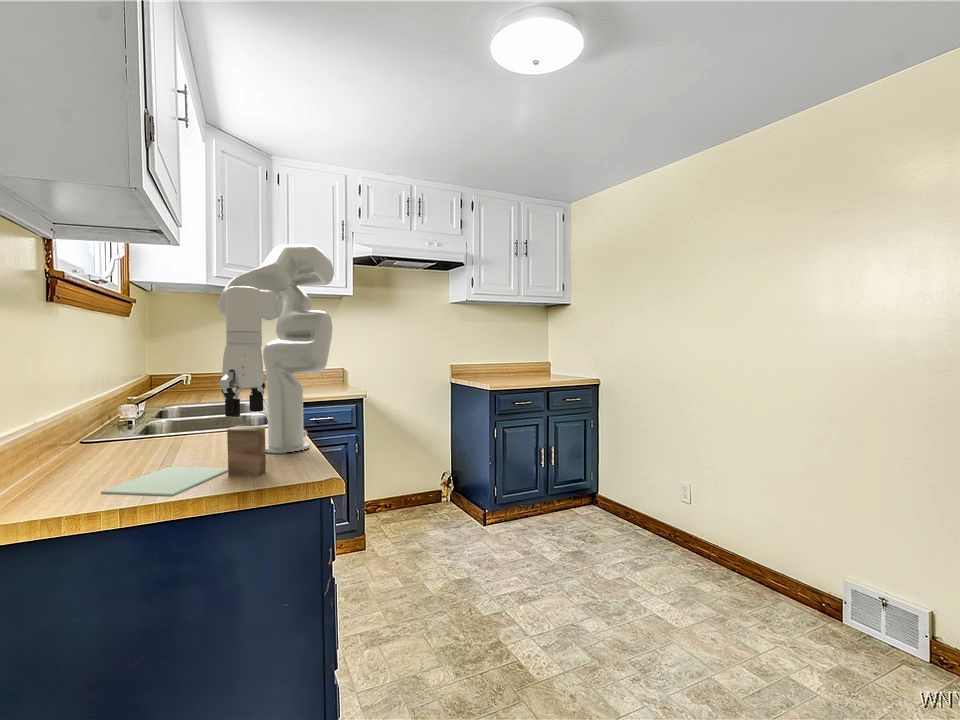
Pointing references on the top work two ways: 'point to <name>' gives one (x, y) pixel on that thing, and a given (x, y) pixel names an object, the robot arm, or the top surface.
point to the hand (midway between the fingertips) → (245, 413)
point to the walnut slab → (246, 451)
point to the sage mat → (167, 481)
